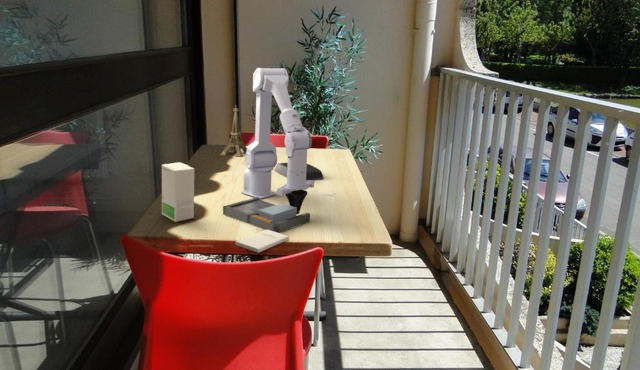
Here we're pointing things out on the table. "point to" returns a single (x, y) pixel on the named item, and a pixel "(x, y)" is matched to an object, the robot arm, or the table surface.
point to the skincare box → (177, 191)
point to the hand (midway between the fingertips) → (295, 213)
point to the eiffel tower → (235, 135)
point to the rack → (250, 214)
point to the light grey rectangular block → (278, 212)
